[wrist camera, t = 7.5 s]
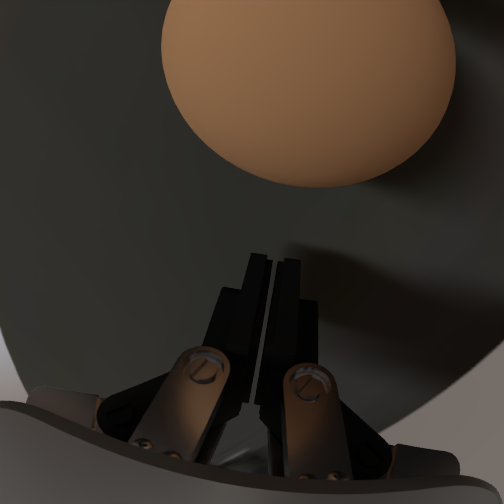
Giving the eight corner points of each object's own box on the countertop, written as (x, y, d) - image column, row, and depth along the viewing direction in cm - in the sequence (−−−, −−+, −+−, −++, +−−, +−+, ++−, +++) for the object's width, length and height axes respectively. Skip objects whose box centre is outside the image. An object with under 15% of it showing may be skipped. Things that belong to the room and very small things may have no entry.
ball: (458, -107, 1) (379, -16, 6) (93, -82, 2) (193, 2, 7) (523, 222, 3) (406, 156, 9) (142, 256, 4) (221, 172, 10)
